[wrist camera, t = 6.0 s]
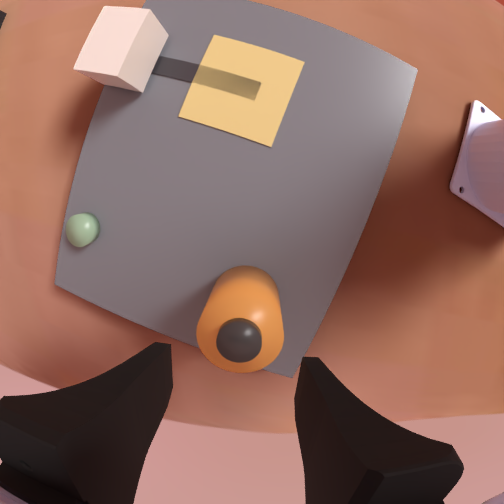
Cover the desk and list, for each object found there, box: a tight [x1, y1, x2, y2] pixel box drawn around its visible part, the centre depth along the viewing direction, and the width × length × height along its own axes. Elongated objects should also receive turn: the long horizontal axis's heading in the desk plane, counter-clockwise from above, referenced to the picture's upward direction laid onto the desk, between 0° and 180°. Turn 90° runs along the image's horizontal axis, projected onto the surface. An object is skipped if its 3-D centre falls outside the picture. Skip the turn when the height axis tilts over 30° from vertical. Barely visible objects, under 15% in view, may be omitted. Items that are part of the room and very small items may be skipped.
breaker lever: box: [73, 6, 169, 93], centre depth 13 cm, size 3×4×4 cm
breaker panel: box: [55, 0, 418, 378], centre depth 18 cm, size 18×22×4 cm
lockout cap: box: [196, 265, 284, 373], centre depth 16 cm, size 4×4×6 cm
